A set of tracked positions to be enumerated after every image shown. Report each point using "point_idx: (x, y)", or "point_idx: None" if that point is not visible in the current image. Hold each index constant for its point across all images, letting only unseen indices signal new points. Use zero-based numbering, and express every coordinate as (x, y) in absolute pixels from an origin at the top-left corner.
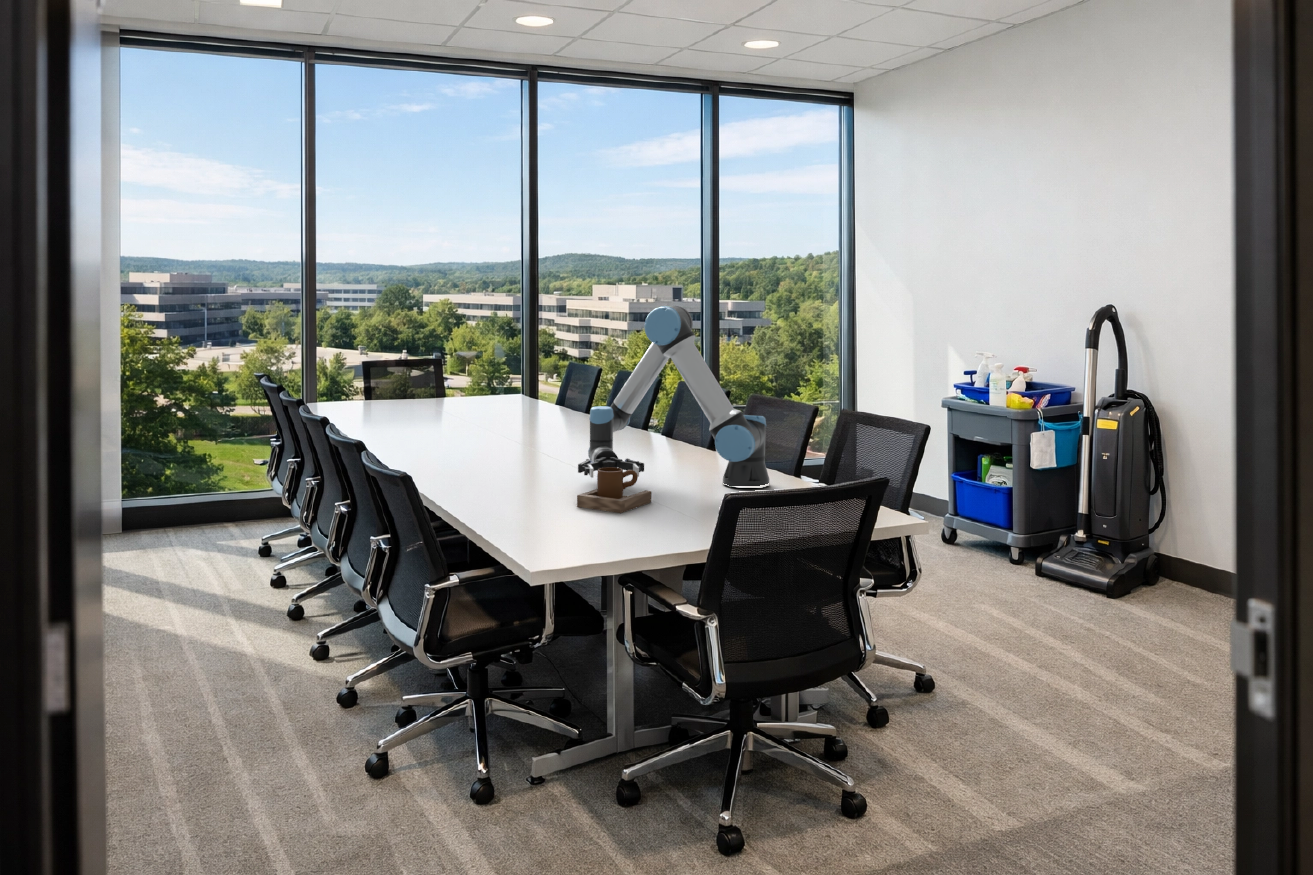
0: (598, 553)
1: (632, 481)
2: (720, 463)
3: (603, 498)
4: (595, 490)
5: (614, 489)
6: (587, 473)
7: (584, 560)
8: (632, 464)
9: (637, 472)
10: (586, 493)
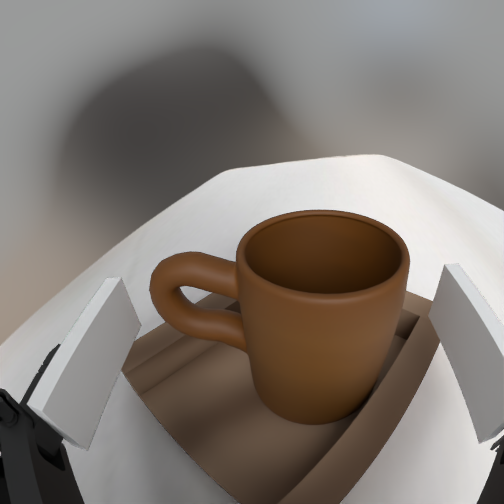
0: (333, 165)
1: (191, 303)
2: None
3: None
4: (396, 395)
5: (301, 289)
6: (499, 440)
7: (345, 159)
8: (35, 450)
9: (126, 304)
10: (426, 334)
